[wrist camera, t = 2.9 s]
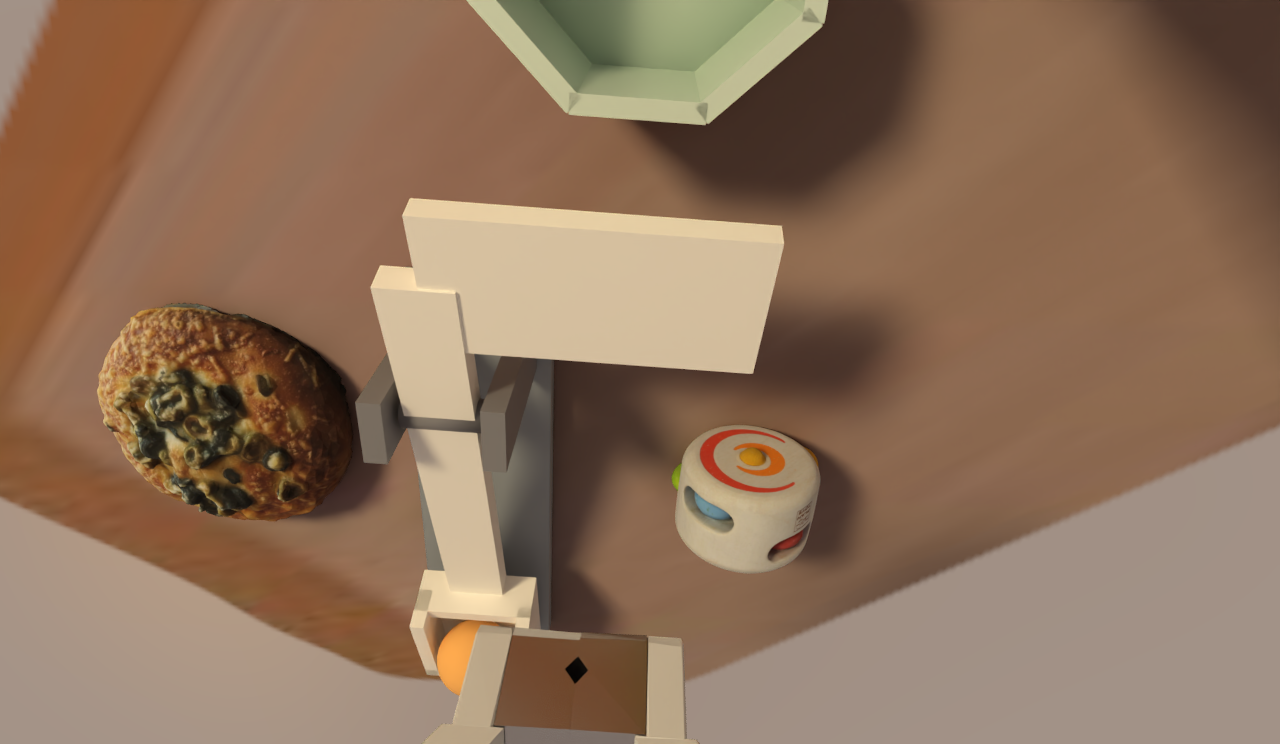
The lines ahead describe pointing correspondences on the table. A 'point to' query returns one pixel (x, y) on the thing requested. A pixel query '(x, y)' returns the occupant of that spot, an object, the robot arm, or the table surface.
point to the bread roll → (226, 412)
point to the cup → (651, 51)
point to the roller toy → (746, 498)
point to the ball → (457, 653)
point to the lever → (544, 349)
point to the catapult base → (491, 457)
